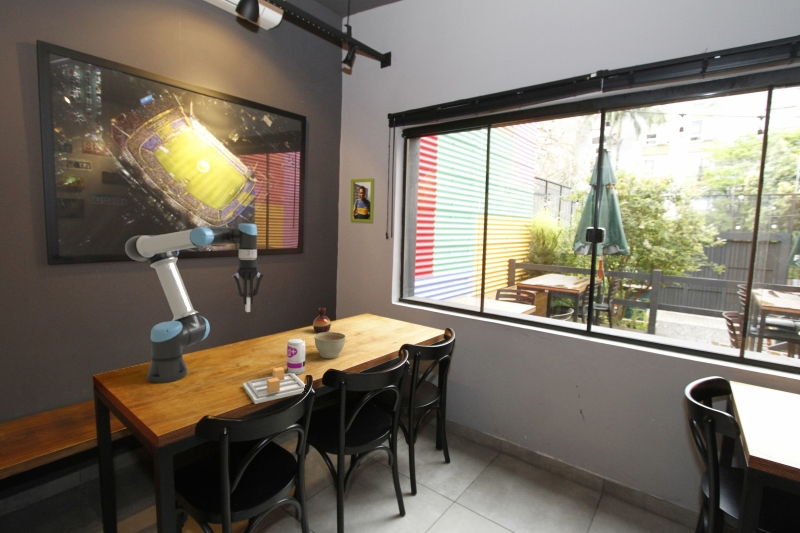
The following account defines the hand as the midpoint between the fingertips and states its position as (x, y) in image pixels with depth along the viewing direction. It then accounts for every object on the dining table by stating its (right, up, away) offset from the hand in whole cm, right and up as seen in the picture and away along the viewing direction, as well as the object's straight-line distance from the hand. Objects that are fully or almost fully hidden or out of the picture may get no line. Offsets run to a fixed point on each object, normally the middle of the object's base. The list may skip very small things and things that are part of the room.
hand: (247, 311), depth 172 cm
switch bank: (+16, -31, -10) cm, 37 cm away
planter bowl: (+31, -28, +32) cm, 53 cm away
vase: (+18, -22, +76) cm, 81 cm away
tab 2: (+17, -31, -16) cm, 38 cm away
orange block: (+15, -29, -5) cm, 33 cm away
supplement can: (+19, -30, +9) cm, 36 cm away
